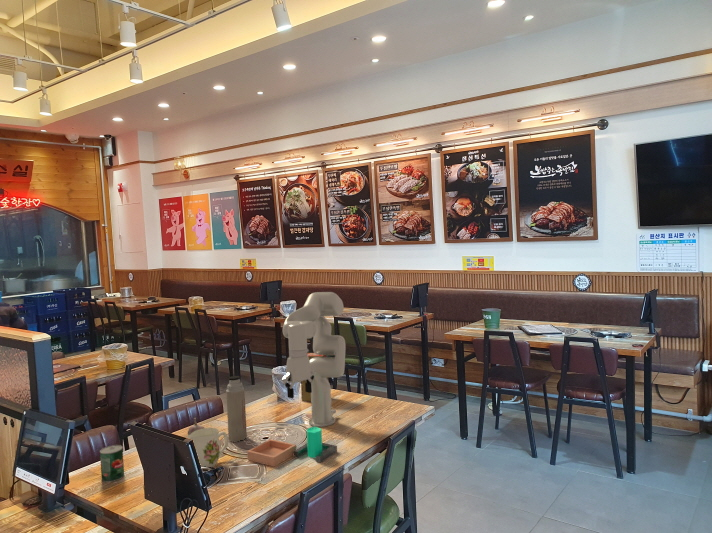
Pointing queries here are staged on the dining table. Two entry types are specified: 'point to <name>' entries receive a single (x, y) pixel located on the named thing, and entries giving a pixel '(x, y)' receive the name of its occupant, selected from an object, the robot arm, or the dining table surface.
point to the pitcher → (208, 445)
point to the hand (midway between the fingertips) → (299, 394)
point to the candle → (314, 441)
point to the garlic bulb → (194, 427)
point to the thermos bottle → (236, 409)
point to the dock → (327, 452)
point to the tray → (271, 452)
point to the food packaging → (305, 395)
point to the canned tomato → (112, 463)
